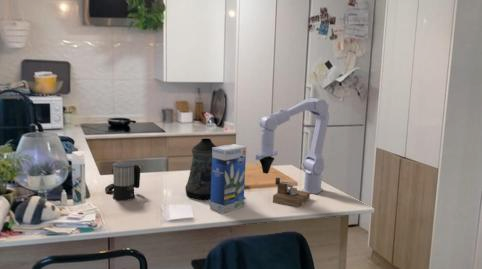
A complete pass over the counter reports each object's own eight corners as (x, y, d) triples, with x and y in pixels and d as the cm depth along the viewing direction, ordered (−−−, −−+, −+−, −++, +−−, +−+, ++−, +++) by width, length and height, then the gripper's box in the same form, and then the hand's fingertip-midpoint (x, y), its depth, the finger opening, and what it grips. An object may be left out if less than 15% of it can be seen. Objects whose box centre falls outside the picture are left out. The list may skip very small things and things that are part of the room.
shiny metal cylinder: (289, 198, 215) (290, 187, 215) (297, 200, 214) (298, 188, 213) (287, 201, 212) (287, 189, 211) (295, 202, 211) (295, 190, 210)
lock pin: (276, 183, 217) (276, 177, 216) (293, 186, 213) (293, 180, 213) (274, 184, 215) (275, 178, 214) (291, 187, 211) (292, 181, 211)
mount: (284, 194, 222) (285, 179, 221) (309, 198, 217) (310, 183, 216) (272, 202, 210) (273, 186, 208) (298, 207, 205) (300, 190, 203)
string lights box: (222, 213, 192) (225, 150, 188) (208, 209, 197) (211, 147, 192) (244, 206, 202) (247, 146, 197) (230, 202, 207) (233, 143, 202)
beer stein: (191, 202, 205) (192, 144, 201) (179, 189, 223) (180, 135, 218) (227, 199, 211) (230, 142, 207) (213, 186, 229) (215, 134, 224)
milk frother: (128, 202, 201) (129, 167, 199) (94, 198, 204) (94, 163, 202) (142, 192, 215) (143, 160, 213) (110, 189, 218) (110, 156, 216)
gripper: (265, 146, 207) (264, 177, 209) (283, 142, 218) (281, 171, 221) (252, 144, 211) (250, 174, 213) (270, 140, 222) (268, 169, 225)
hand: (265, 173), depth 217 cm, fingers closed
